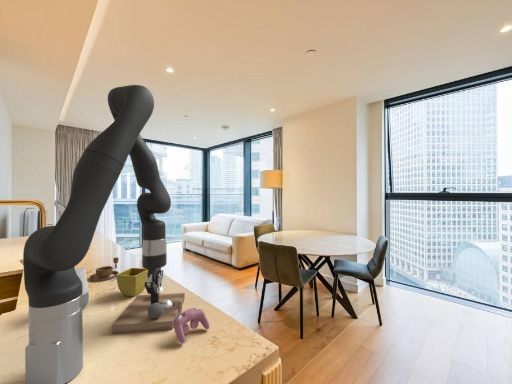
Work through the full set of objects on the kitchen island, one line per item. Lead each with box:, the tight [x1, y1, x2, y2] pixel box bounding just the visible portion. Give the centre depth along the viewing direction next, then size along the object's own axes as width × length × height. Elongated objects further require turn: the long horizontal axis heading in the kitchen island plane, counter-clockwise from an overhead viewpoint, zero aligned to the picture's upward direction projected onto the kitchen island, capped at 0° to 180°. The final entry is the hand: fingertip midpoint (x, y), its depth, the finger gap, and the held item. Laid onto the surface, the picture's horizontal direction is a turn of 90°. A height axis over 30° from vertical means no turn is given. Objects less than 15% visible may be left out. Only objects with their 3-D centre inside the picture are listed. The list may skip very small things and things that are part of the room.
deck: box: [111, 292, 186, 335], centre depth 79 cm, size 20×18×2 cm
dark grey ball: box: [148, 303, 163, 319], centre depth 72 cm, size 4×4×4 cm
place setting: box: [89, 256, 120, 283], centre depth 119 cm, size 18×20×6 cm
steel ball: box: [161, 300, 173, 310], centre depth 80 cm, size 4×4×4 cm
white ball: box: [149, 285, 164, 296], centre depth 87 cm, size 4×4×4 cm
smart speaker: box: [75, 266, 90, 310], centre depth 83 cm, size 10×9×14 cm
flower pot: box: [115, 267, 148, 297], centre depth 96 cm, size 9×9×9 cm
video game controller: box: [173, 307, 210, 345], centre depth 68 cm, size 10×5×7 cm, turn 141°
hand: (154, 303), depth 79 cm, fingers closed
